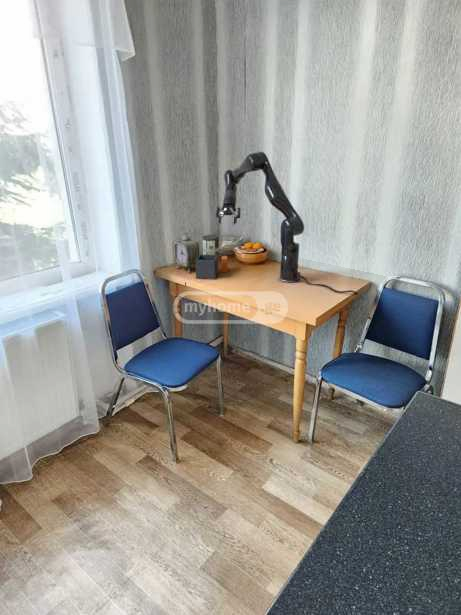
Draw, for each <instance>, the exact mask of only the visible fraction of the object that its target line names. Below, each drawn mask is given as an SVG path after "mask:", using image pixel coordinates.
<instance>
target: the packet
mask: <svg viewBox="0 0 461 615" xmlns="http://www.w3.org/2000/svg"><path fill="white" fill-rule="evenodd" d="M228 258H229V257H228V255H222V256H221V258H220V272H221V273H227V272H228V270H229V269H228V268H229V267H228V266H229V263H228V260H229V259H228Z"/></svg>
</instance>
